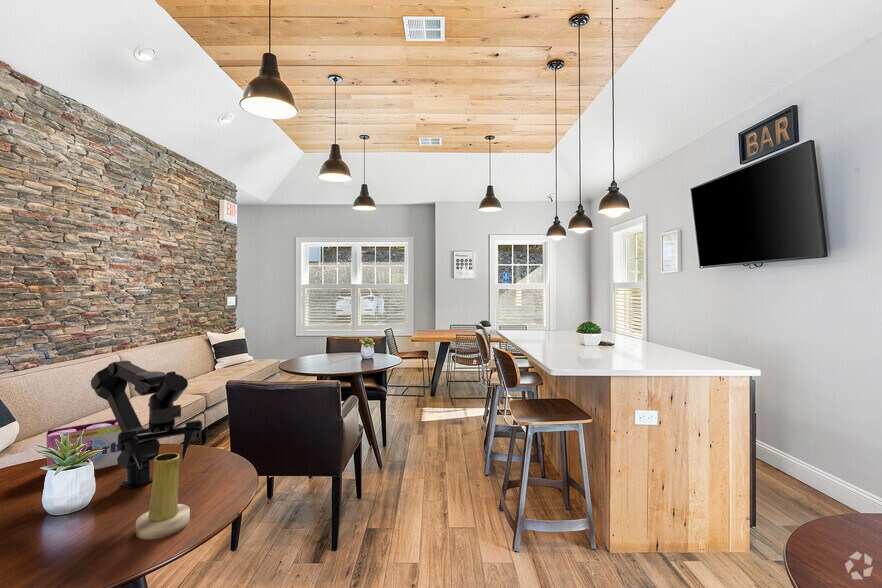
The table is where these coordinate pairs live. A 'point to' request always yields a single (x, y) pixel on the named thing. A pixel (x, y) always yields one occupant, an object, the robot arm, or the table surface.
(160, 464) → the vase
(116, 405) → the robot arm
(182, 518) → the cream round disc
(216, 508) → the table surface
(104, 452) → the gum box
